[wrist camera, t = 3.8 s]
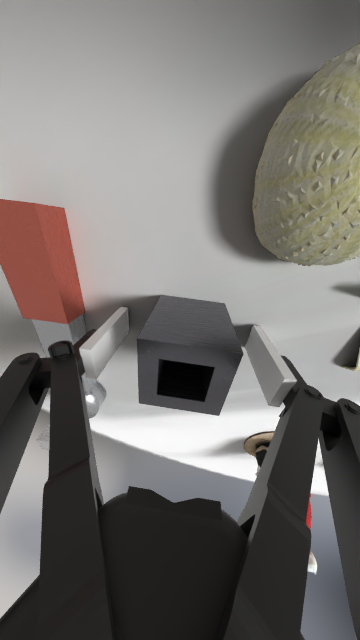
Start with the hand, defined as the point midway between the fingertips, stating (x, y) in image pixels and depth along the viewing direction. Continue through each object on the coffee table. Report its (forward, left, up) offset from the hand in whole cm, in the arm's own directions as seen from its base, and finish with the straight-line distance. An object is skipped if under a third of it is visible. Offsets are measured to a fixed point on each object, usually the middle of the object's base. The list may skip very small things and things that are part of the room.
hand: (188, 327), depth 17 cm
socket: (0, 0, 0) cm, 0 cm away
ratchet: (+3, -13, 0) cm, 13 cm away
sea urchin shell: (-12, +7, -1) cm, 14 cm away
